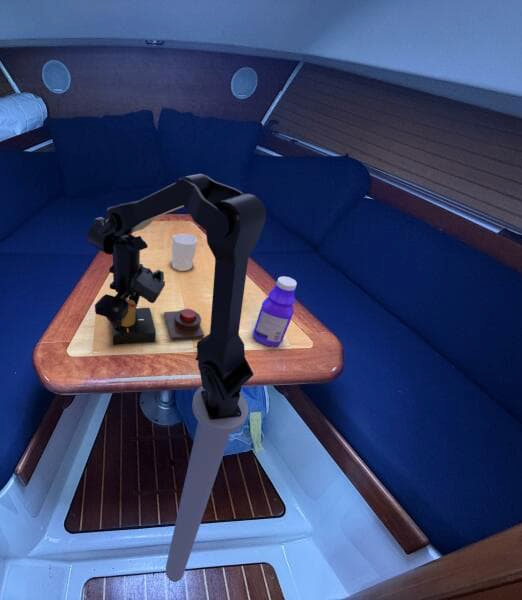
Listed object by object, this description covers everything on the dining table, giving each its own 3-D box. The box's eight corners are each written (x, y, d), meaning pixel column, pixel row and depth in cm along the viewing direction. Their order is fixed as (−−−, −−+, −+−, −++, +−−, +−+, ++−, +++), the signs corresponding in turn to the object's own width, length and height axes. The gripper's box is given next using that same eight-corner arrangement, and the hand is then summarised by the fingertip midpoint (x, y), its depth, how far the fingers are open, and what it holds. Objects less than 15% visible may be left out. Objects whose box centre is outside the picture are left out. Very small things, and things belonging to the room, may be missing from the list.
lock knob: (113, 323, 77) (113, 305, 73) (122, 313, 80) (122, 296, 77) (130, 328, 75) (130, 310, 72) (138, 318, 79) (138, 300, 76)
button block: (204, 338, 79) (205, 329, 77) (171, 341, 77) (172, 331, 76) (193, 313, 87) (195, 304, 85) (164, 315, 85) (164, 306, 84)
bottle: (283, 337, 81) (305, 279, 71) (280, 351, 77) (303, 291, 67) (254, 328, 83) (272, 270, 73) (249, 341, 79) (268, 281, 69)
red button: (196, 322, 80) (197, 317, 79) (182, 323, 79) (183, 317, 78) (192, 313, 82) (193, 308, 81) (179, 314, 82) (179, 309, 81)
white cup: (165, 265, 108) (167, 238, 102) (180, 258, 112) (183, 231, 107) (183, 274, 103) (186, 246, 98) (198, 266, 108) (202, 239, 103)
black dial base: (155, 342, 77) (155, 332, 75) (109, 345, 75) (109, 335, 73) (149, 316, 85) (149, 306, 83) (107, 318, 83) (107, 309, 81)
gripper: (144, 293, 59) (142, 353, 68) (175, 252, 74) (169, 306, 83) (91, 279, 62) (95, 339, 71) (131, 242, 76) (130, 296, 85)
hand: (126, 319), depth 77 cm, fingers open, 9 cm apart
